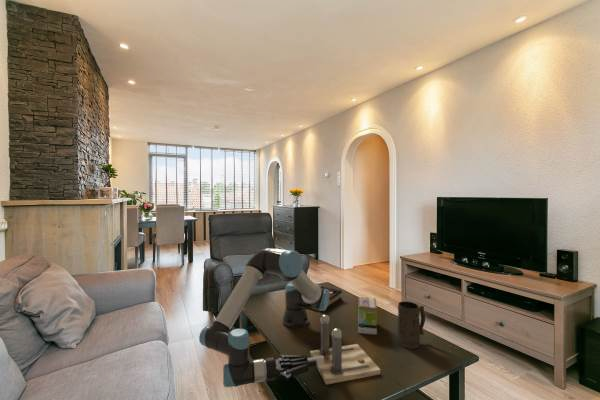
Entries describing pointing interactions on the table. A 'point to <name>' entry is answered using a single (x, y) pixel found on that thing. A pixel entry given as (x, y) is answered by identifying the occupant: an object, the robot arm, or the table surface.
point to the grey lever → (324, 335)
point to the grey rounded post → (336, 351)
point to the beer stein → (410, 324)
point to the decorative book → (333, 296)
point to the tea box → (367, 316)
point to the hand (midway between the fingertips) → (323, 359)
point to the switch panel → (347, 365)
